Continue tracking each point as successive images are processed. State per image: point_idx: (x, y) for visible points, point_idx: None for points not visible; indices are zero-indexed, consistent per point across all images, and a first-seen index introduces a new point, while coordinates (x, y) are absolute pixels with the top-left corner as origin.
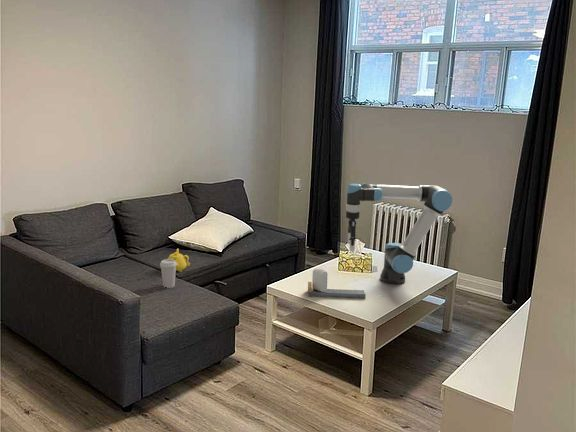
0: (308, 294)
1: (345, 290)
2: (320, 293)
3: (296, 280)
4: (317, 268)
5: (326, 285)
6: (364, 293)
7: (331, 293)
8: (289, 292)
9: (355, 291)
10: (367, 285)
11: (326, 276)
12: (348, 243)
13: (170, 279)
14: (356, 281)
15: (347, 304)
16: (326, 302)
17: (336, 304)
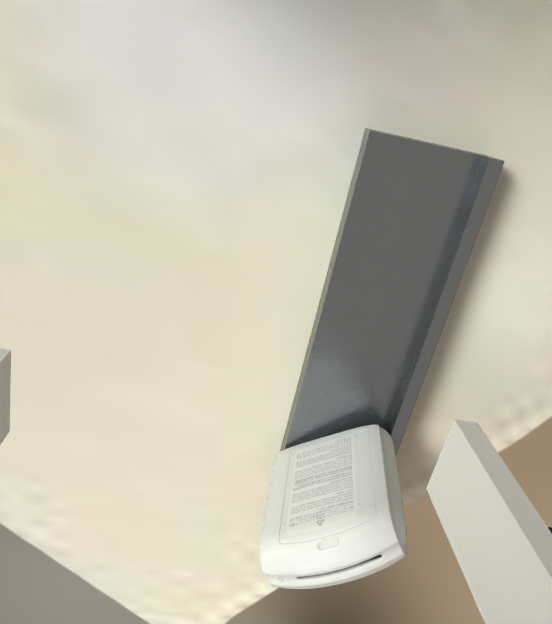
0: None
1: (348, 282)
2: None
3: (80, 522)
4: (310, 586)
5: (386, 453)
6: (488, 166)
7: (414, 399)
8: None
9: (383, 211)
10: (197, 29)
11: (397, 504)
12: (6, 426)
13: None
14: (89, 106)
15: (544, 313)
16: None
17: (522, 377)
